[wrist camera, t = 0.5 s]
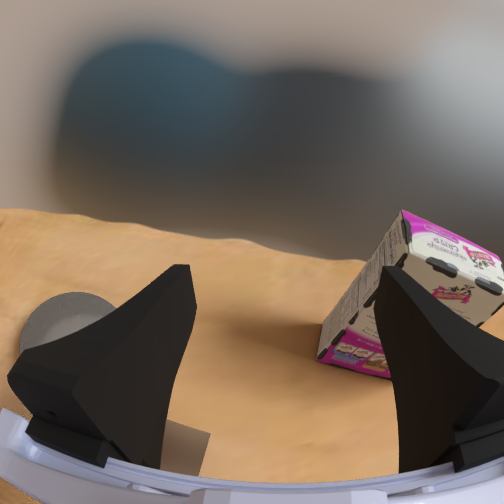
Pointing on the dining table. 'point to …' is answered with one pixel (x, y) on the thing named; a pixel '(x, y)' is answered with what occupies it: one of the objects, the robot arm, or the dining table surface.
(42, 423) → the robot arm
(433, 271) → the candy bar box
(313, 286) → the dining table surface
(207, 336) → the dining table surface
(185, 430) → the walnut block
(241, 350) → the dining table surface
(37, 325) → the biscuit tin
